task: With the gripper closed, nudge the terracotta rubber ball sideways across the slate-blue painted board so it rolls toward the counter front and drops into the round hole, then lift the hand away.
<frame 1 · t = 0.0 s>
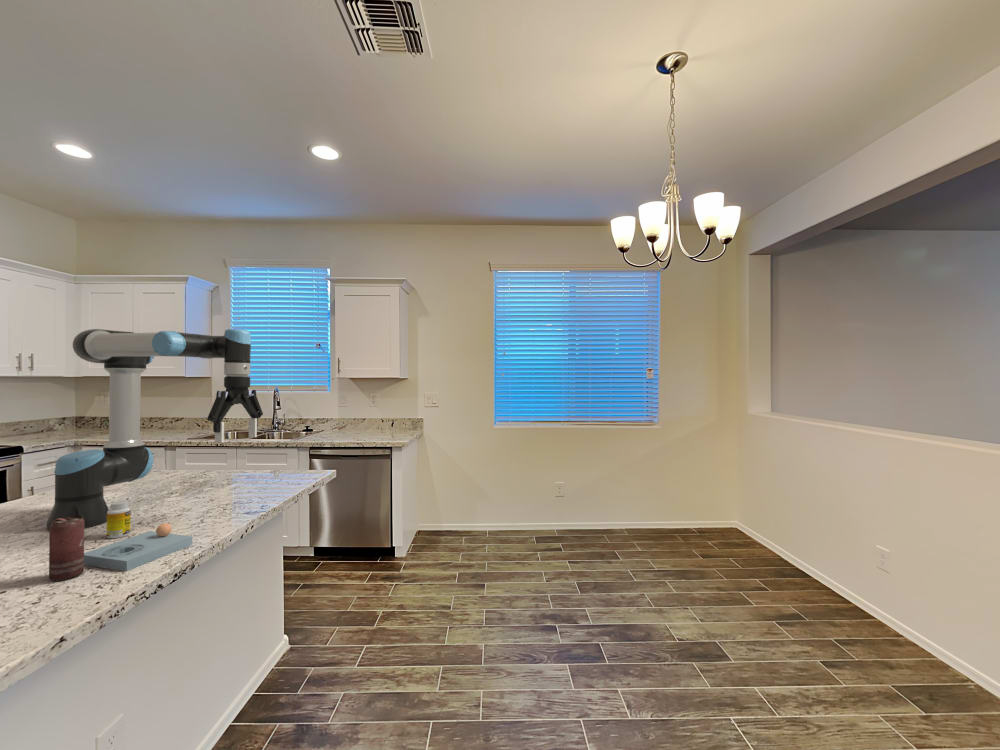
hand: (236, 439, 147), 28 cm above the table, fingers open, 13 cm apart
board: (138, 554, 122), on the table
can: (66, 577, 108), on the table
supplement bottle: (118, 536, 136), on the table
ball: (163, 529, 129), point 4 cm above the table, touching board
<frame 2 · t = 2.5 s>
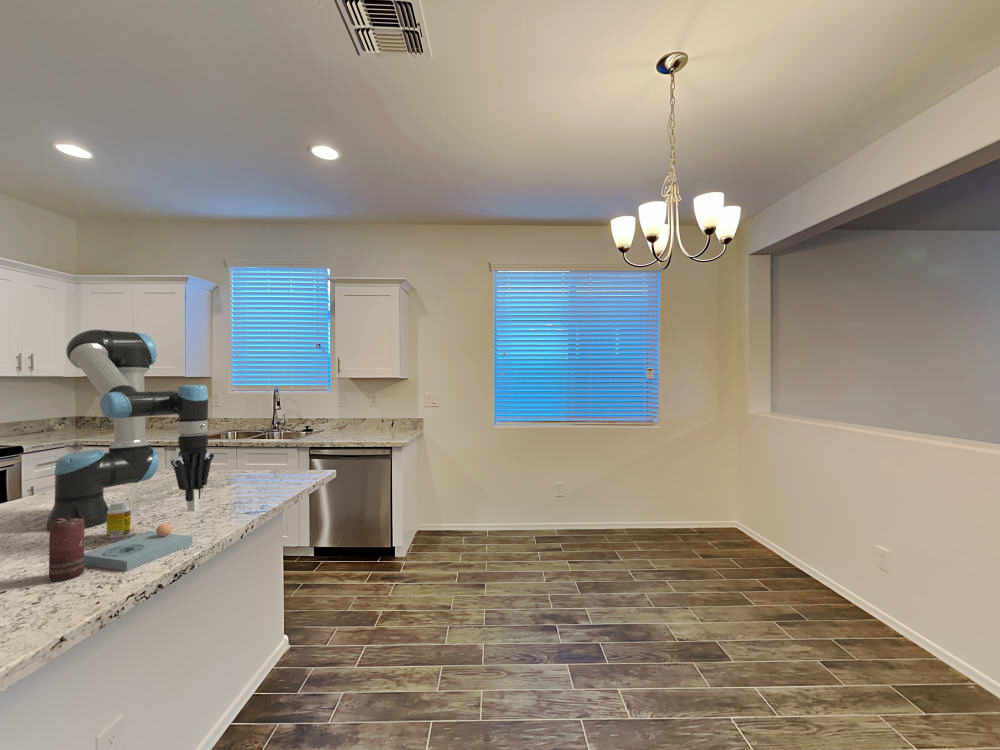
hand: (193, 510, 137), 7 cm above the table, fingers closed
nothing on the table moved.
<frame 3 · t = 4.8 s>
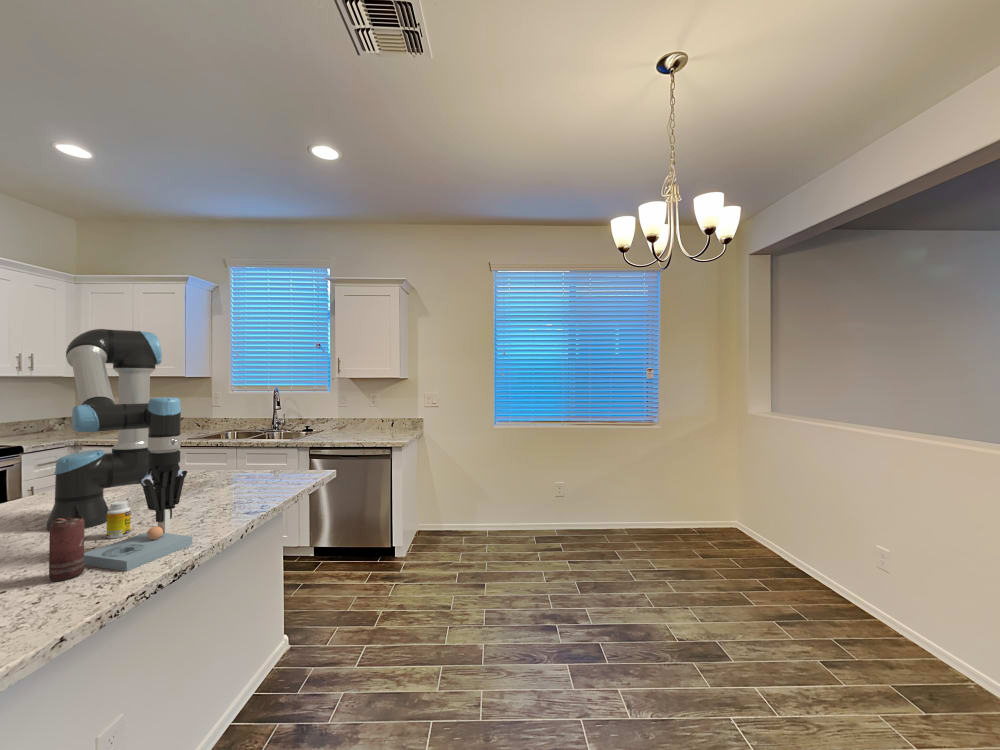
hand: (163, 531, 129), 4 cm above the table, fingers closed
ball: (155, 533, 126), point 4 cm above the table, tilted 74°, touching board, gripper
everything else where it was.
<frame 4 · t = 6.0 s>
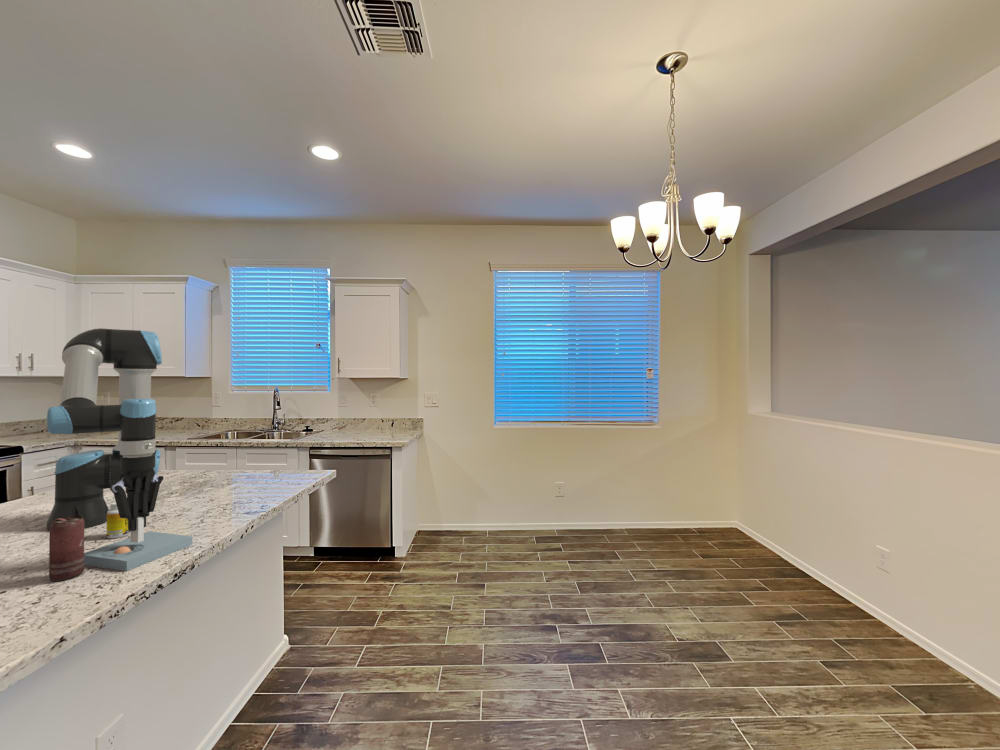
hand: (137, 541, 121), 4 cm above the table, fingers closed
ball: (122, 553, 118), point 2 cm above the table, tilted 22°
everything else where it was.
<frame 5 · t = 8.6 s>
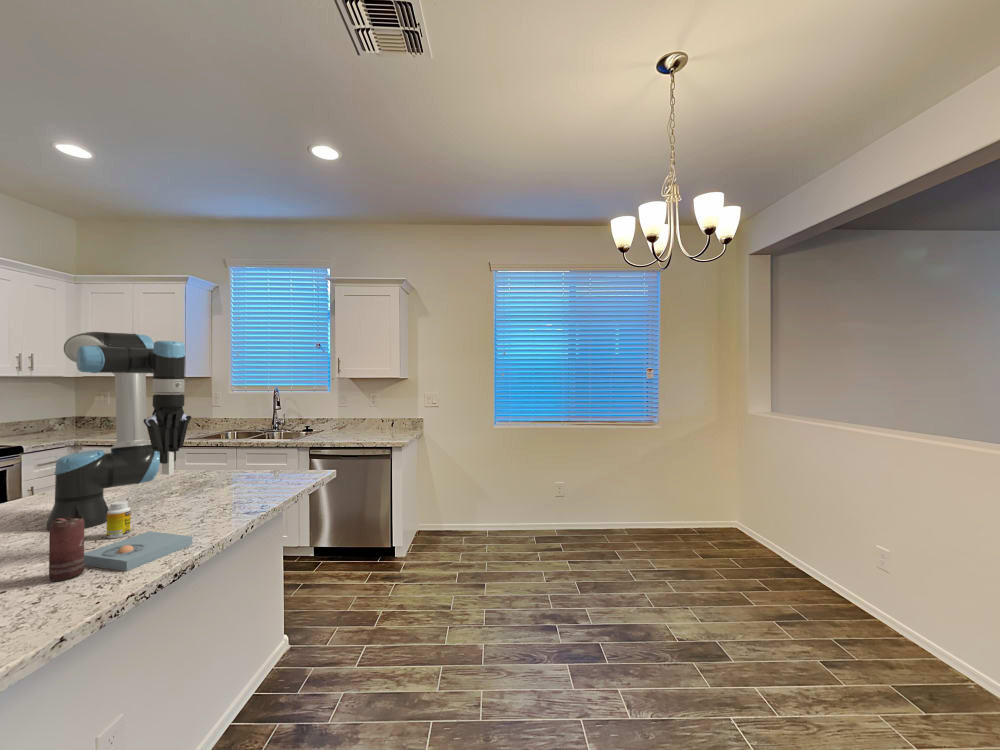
hand: (167, 473, 130), 20 cm above the table, fingers closed
ball: (125, 552, 119), point 2 cm above the table, tilted 6°
everything else where it was.
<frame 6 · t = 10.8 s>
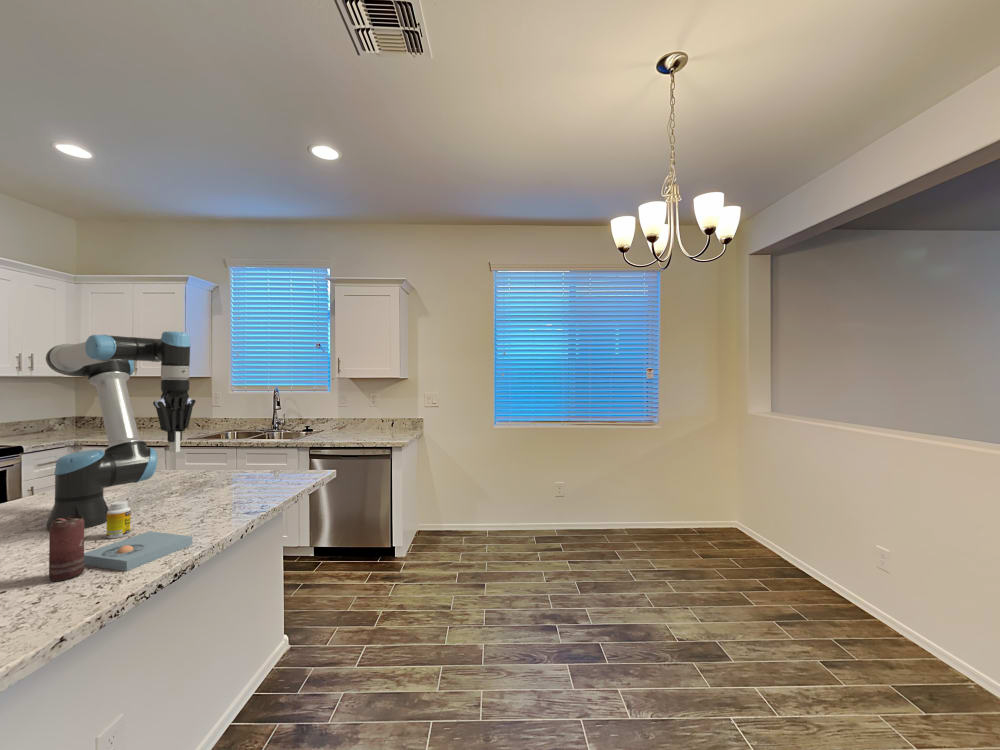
hand: (174, 451, 144), 24 cm above the table, fingers closed
nothing on the table moved.
at the end: ball 0.4 cm from the target spot on the board, point 1.8 cm above the board's base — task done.
